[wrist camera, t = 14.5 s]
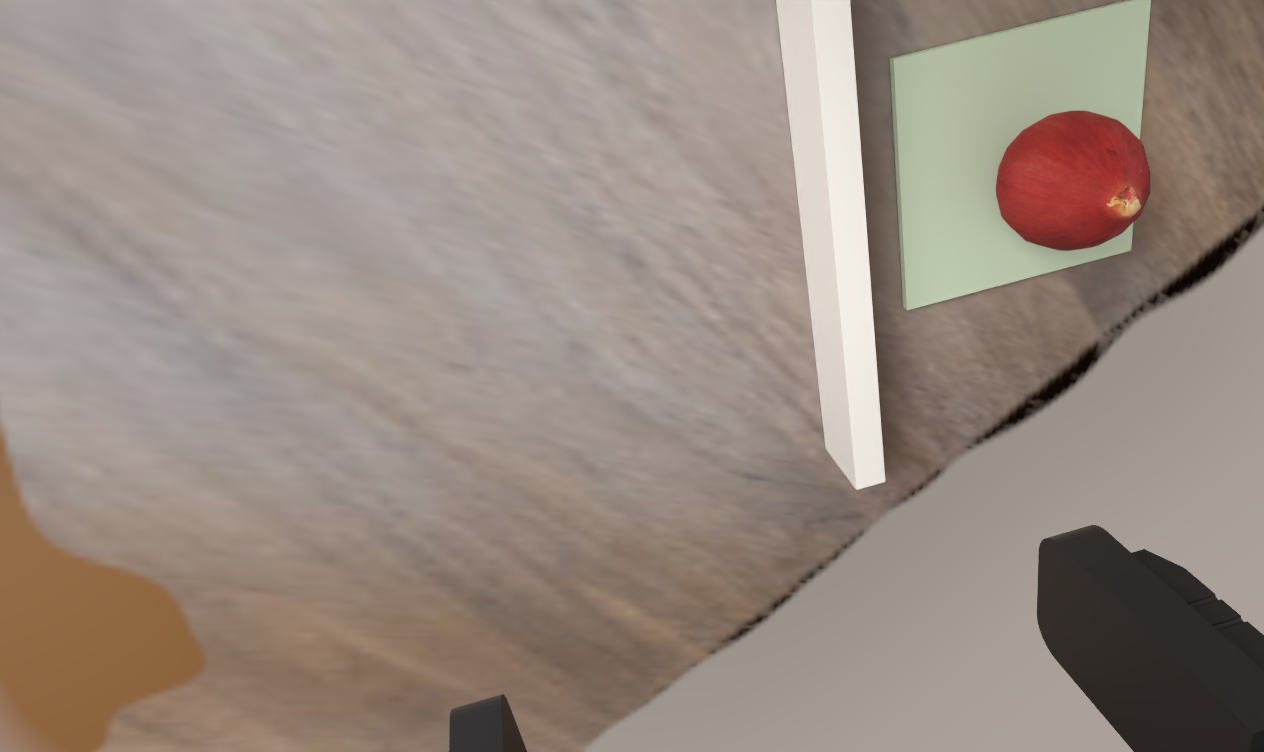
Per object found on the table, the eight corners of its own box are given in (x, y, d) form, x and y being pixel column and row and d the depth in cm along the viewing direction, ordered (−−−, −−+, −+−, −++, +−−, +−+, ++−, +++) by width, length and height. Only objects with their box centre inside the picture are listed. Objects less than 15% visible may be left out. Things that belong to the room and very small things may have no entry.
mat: (889, 58, 37) (893, 59, 37) (1144, -5, 38) (1151, -4, 38) (903, 307, 43) (906, 310, 43) (1125, 247, 44) (1131, 250, 43)
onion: (1098, 116, 40) (1236, 152, 33) (1043, 234, 42) (1161, 291, 35) (994, 84, 38) (1116, 114, 31) (941, 208, 41) (1044, 263, 33)
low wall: (765, -99, 34) (801, -105, 30) (801, -108, 34) (841, -114, 30) (825, 448, 46) (856, 489, 42) (852, 440, 46) (885, 481, 42)
